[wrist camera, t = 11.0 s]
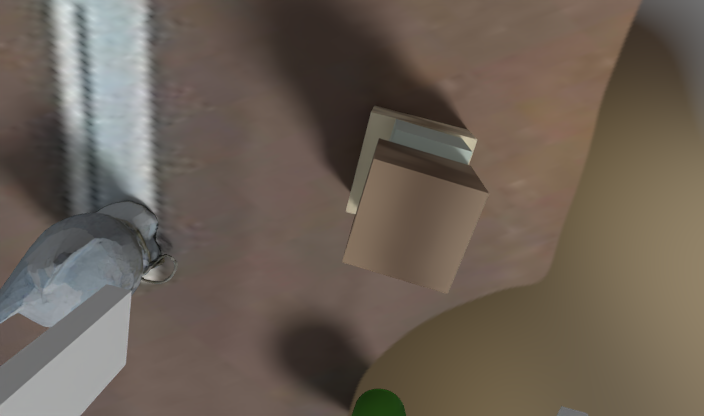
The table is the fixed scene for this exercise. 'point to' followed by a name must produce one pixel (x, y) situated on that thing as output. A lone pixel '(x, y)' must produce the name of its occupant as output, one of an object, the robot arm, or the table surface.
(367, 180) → the walnut cube
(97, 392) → the robot arm
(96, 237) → the figurine
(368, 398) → the cup
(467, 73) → the table surface
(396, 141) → the tower top
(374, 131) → the tower base
